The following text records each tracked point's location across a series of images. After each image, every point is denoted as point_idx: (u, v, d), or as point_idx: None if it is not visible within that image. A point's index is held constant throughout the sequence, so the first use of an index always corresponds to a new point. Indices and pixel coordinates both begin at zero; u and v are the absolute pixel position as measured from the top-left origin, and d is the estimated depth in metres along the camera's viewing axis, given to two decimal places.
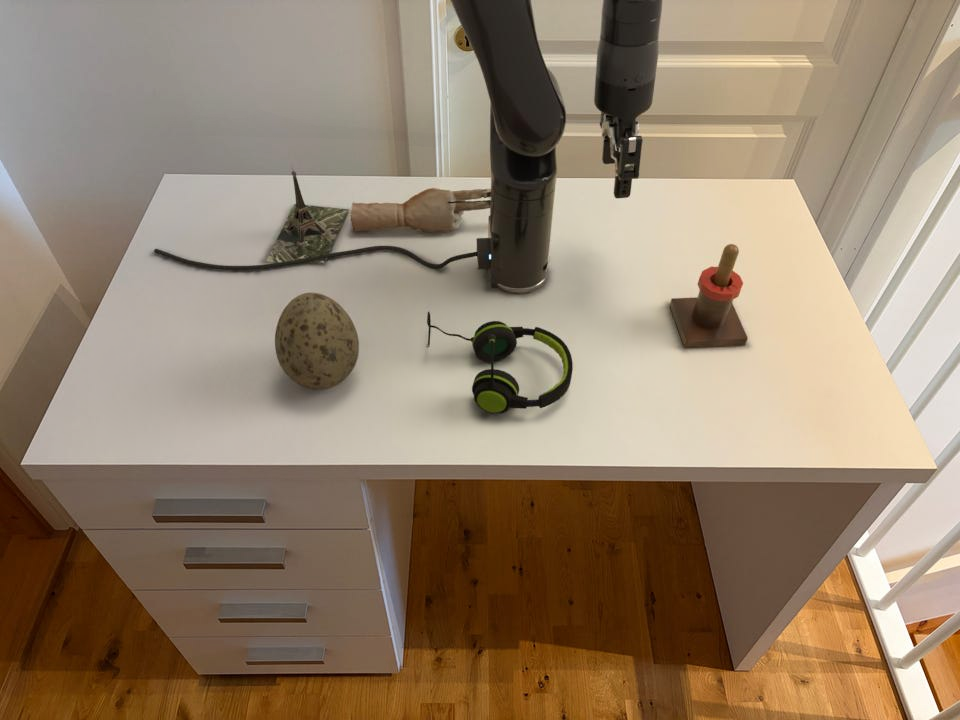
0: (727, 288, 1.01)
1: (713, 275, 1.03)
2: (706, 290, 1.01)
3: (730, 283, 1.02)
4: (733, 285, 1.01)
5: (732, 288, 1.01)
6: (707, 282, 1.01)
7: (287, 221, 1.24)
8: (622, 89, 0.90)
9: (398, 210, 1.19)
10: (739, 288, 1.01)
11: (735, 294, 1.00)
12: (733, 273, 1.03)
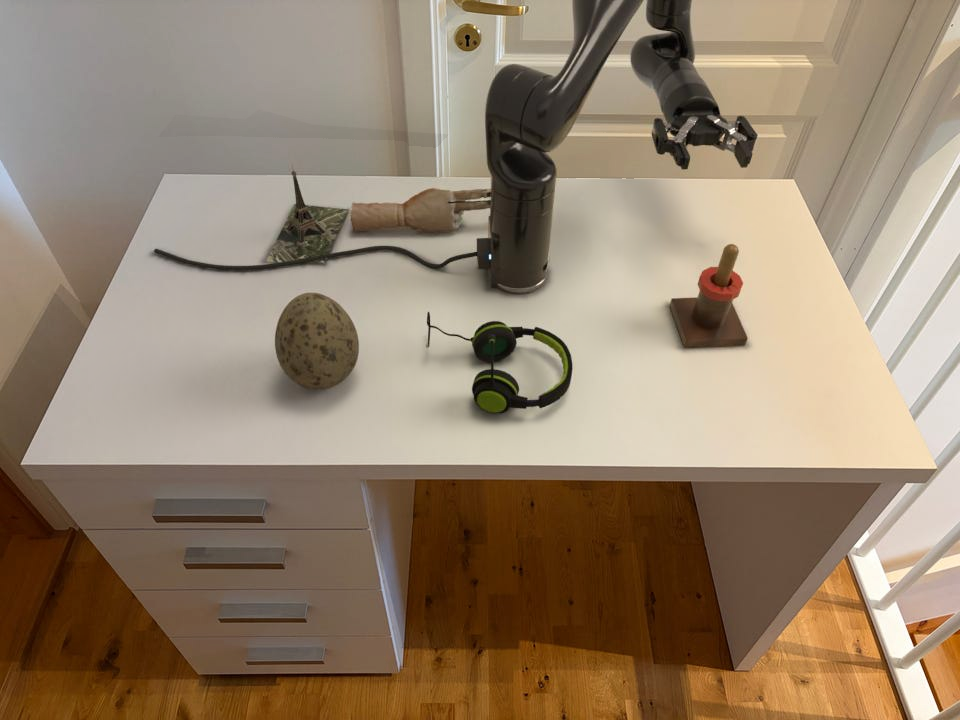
0: (727, 288, 1.01)
1: (713, 275, 1.03)
2: (706, 290, 1.01)
3: (730, 283, 1.02)
4: (733, 285, 1.01)
5: (732, 288, 1.01)
6: (707, 282, 1.01)
7: (287, 221, 1.24)
8: None
9: (398, 210, 1.19)
10: (739, 288, 1.01)
11: (735, 294, 1.00)
12: (733, 273, 1.03)
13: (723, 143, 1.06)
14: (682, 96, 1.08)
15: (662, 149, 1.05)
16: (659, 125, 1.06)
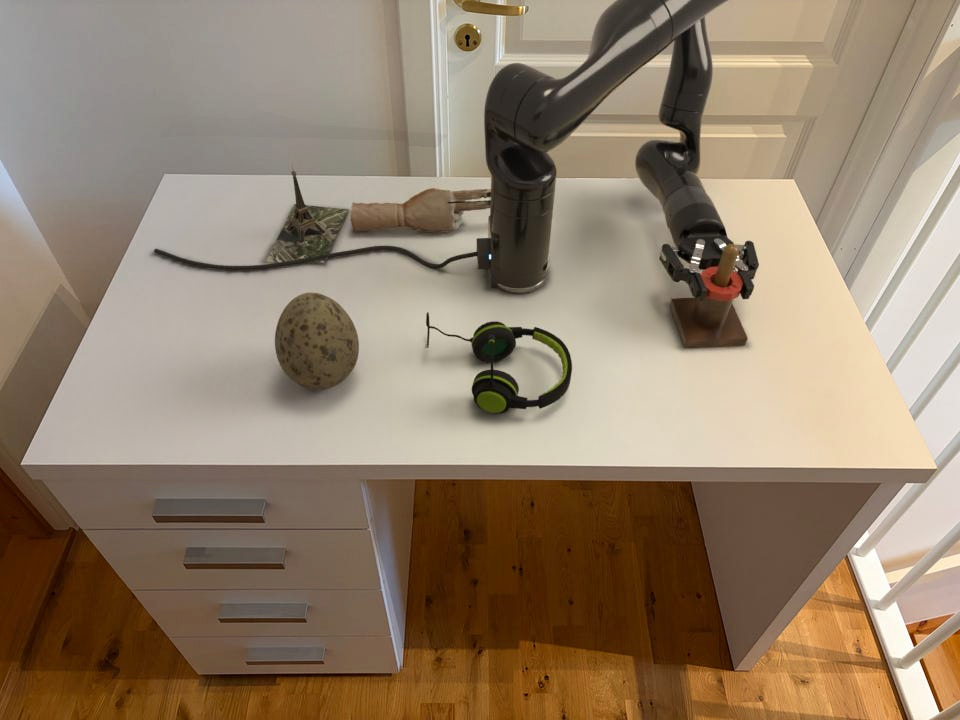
0: (727, 288, 1.01)
1: (713, 275, 1.03)
2: None
3: (730, 283, 1.02)
4: (733, 285, 1.01)
5: (732, 288, 1.01)
6: (707, 282, 1.01)
7: (287, 221, 1.24)
8: None
9: (398, 210, 1.19)
10: (739, 288, 1.01)
11: (735, 294, 1.00)
12: (733, 273, 1.03)
13: None
14: (688, 218, 1.07)
15: (678, 278, 1.04)
16: (669, 252, 1.05)
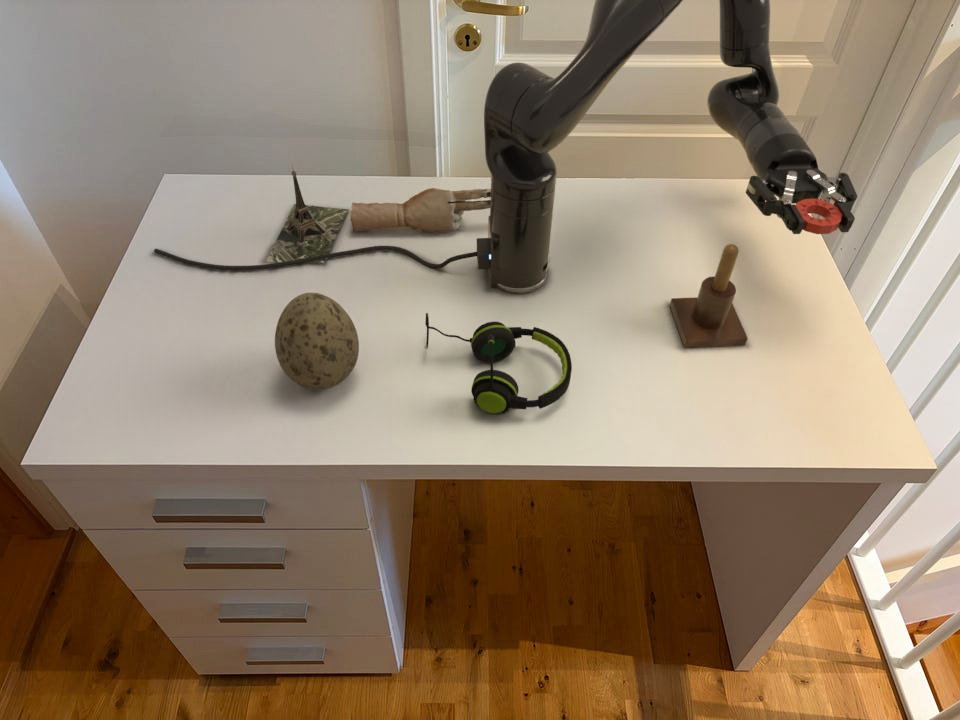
0: (826, 220, 0.93)
1: (808, 207, 0.95)
2: None
3: (827, 215, 0.95)
4: (832, 217, 0.93)
5: (831, 220, 0.93)
6: (803, 214, 0.94)
7: (287, 221, 1.24)
8: None
9: (398, 210, 1.19)
10: (839, 220, 0.93)
11: (835, 226, 0.93)
12: (830, 205, 0.95)
13: None
14: (777, 149, 1.00)
15: (769, 210, 0.96)
16: (759, 184, 0.97)
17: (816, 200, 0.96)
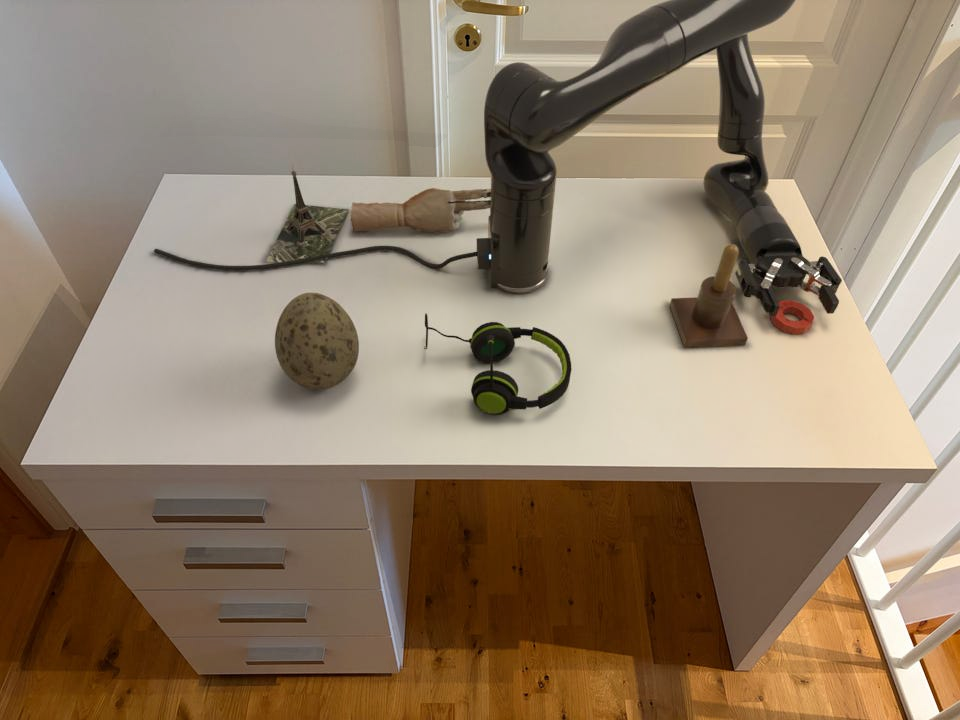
0: (800, 322, 1.07)
1: (785, 309, 1.09)
2: (780, 323, 1.07)
3: (801, 316, 1.09)
4: (805, 318, 1.07)
5: (804, 321, 1.07)
6: (780, 316, 1.08)
7: (287, 221, 1.24)
8: None
9: (398, 210, 1.19)
10: (811, 321, 1.07)
11: (807, 327, 1.07)
12: (803, 307, 1.09)
13: (807, 285, 1.09)
14: (765, 237, 1.11)
15: (749, 293, 1.08)
16: (745, 268, 1.09)
17: (791, 302, 1.10)
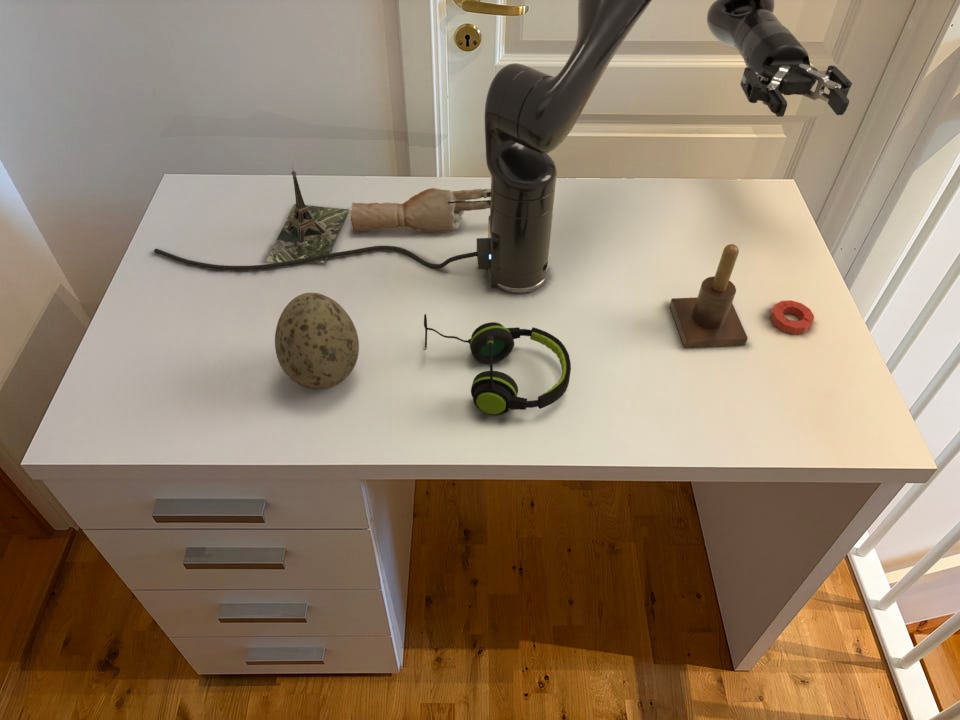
0: (800, 322, 1.07)
1: (785, 309, 1.09)
2: (780, 323, 1.07)
3: (801, 316, 1.09)
4: (805, 318, 1.07)
5: (804, 321, 1.07)
6: (780, 316, 1.08)
7: (287, 221, 1.24)
8: None
9: (398, 210, 1.19)
10: (811, 321, 1.07)
11: (807, 327, 1.07)
12: (803, 307, 1.09)
13: (815, 92, 1.05)
14: (772, 45, 1.06)
15: (755, 97, 1.03)
16: (751, 74, 1.04)
17: (791, 302, 1.10)
